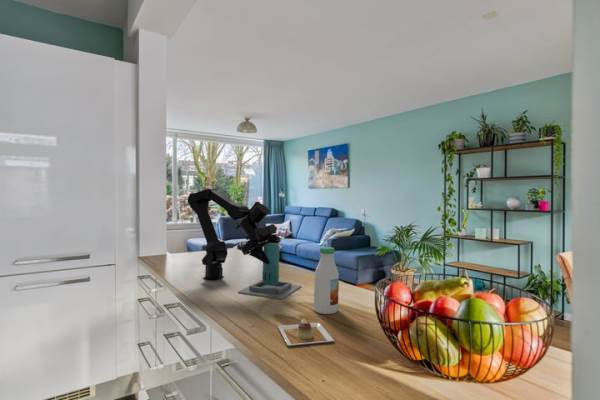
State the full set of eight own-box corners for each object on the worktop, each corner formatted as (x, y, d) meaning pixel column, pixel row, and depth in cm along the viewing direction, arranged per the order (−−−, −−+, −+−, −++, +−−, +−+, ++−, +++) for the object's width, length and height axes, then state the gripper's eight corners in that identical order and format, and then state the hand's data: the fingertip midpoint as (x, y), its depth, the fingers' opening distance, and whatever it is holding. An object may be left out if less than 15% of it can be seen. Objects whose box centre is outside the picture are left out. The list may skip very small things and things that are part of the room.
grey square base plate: (237, 292, 122) (237, 287, 122) (261, 281, 138) (261, 276, 138) (282, 299, 115) (282, 293, 115) (301, 287, 132) (301, 281, 132)
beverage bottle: (279, 284, 130) (281, 233, 130) (278, 289, 123) (279, 235, 123) (262, 284, 130) (264, 233, 130) (260, 288, 124) (262, 235, 123)
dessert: (334, 345, 82) (335, 325, 82) (287, 349, 79) (287, 329, 79) (319, 326, 93) (319, 309, 93) (277, 330, 90) (277, 312, 90)
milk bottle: (321, 316, 100) (323, 250, 100) (309, 308, 107) (310, 246, 107) (342, 312, 103) (344, 248, 103) (329, 305, 110) (331, 245, 110)
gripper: (248, 218, 120) (272, 252, 115) (278, 216, 136) (300, 246, 131) (231, 237, 125) (253, 271, 119) (262, 233, 141) (282, 263, 135)
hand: (274, 262), depth 126 cm, fingers closed on beverage bottle, 6 cm apart
